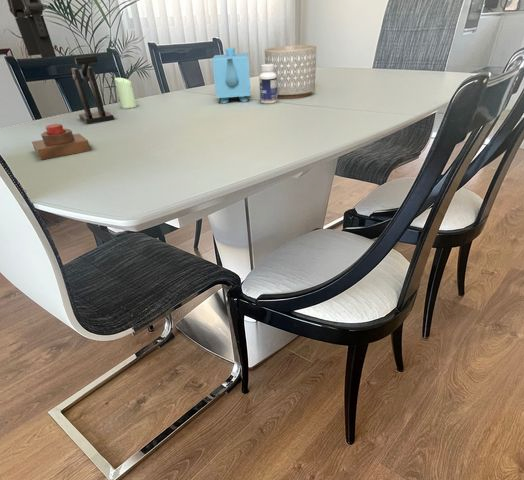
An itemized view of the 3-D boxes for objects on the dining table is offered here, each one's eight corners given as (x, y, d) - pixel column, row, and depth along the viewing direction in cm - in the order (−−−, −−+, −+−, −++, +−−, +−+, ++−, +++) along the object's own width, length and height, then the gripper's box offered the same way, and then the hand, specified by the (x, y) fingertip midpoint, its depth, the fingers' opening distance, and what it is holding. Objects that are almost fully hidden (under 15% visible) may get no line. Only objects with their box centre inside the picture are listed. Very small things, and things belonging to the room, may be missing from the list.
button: (50, 137, 87) (46, 128, 86) (47, 134, 89) (44, 125, 88) (66, 134, 88) (63, 125, 87) (63, 131, 90) (60, 123, 89)
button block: (41, 160, 86) (33, 140, 83) (35, 151, 92) (28, 133, 89) (91, 150, 90) (84, 131, 87) (82, 143, 96) (76, 124, 93)
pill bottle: (257, 103, 123) (254, 65, 117) (268, 100, 126) (267, 63, 119) (269, 104, 120) (267, 66, 114) (280, 101, 123) (280, 63, 116)
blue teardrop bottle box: (219, 96, 137) (214, 47, 128) (250, 93, 137) (247, 44, 127) (216, 108, 120) (209, 52, 111) (251, 105, 120) (247, 50, 111)
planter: (256, 97, 130) (254, 50, 122) (286, 89, 139) (285, 45, 131) (295, 101, 122) (295, 50, 113) (324, 92, 131) (326, 45, 122)
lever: (98, 63, 102) (95, 52, 102) (77, 65, 100) (73, 54, 100) (94, 80, 113) (91, 71, 112) (75, 83, 111) (72, 73, 110)
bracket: (114, 119, 116) (100, 67, 107) (87, 124, 113) (70, 70, 104) (105, 114, 122) (91, 65, 114) (80, 119, 119) (63, 68, 111)
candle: (139, 105, 132) (132, 76, 126) (132, 108, 128) (125, 78, 123) (126, 105, 133) (118, 76, 127) (119, 108, 129) (111, 78, 124)
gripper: (-39, -79, 76) (13, 55, 90) (-25, -108, 60) (36, 60, 74) (2, -78, 79) (46, 52, 93) (26, -105, 63) (75, 56, 77)
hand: (41, 56), depth 84 cm, fingers open, 13 cm apart
